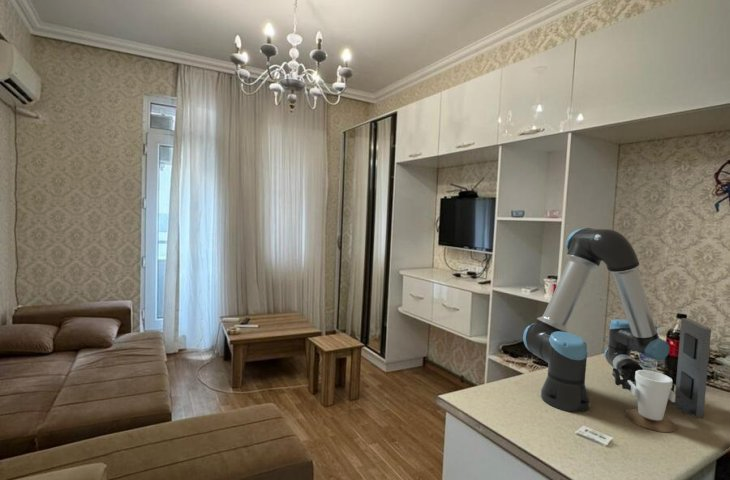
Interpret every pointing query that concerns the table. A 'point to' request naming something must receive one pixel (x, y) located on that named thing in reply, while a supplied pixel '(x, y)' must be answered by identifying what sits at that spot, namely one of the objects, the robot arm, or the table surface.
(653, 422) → the coaster
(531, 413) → the table surface
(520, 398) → the table surface
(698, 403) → the post
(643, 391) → the foam cup
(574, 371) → the robot arm
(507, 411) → the table surface
